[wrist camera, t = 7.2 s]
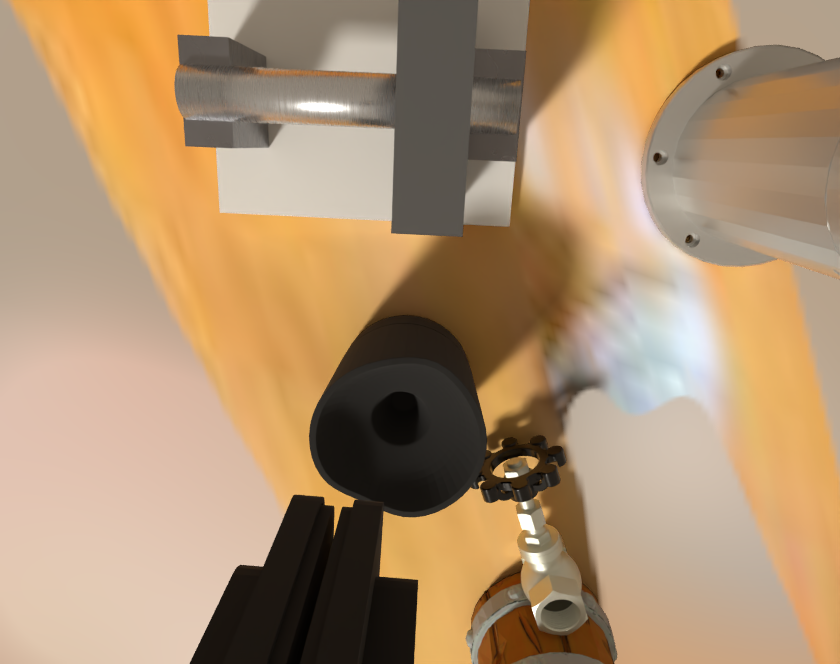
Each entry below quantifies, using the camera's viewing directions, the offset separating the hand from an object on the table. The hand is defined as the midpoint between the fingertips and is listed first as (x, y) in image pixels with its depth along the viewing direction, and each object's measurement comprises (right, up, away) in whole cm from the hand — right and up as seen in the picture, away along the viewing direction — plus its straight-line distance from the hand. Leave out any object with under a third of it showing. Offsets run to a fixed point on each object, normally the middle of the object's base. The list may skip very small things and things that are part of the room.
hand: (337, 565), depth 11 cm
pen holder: (+1, +2, +30) cm, 30 cm away
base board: (-2, +18, +25) cm, 30 cm away
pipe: (-2, +18, +25) cm, 30 cm away
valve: (+10, -9, +33) cm, 36 cm away
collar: (+2, +17, +23) cm, 28 cm away
